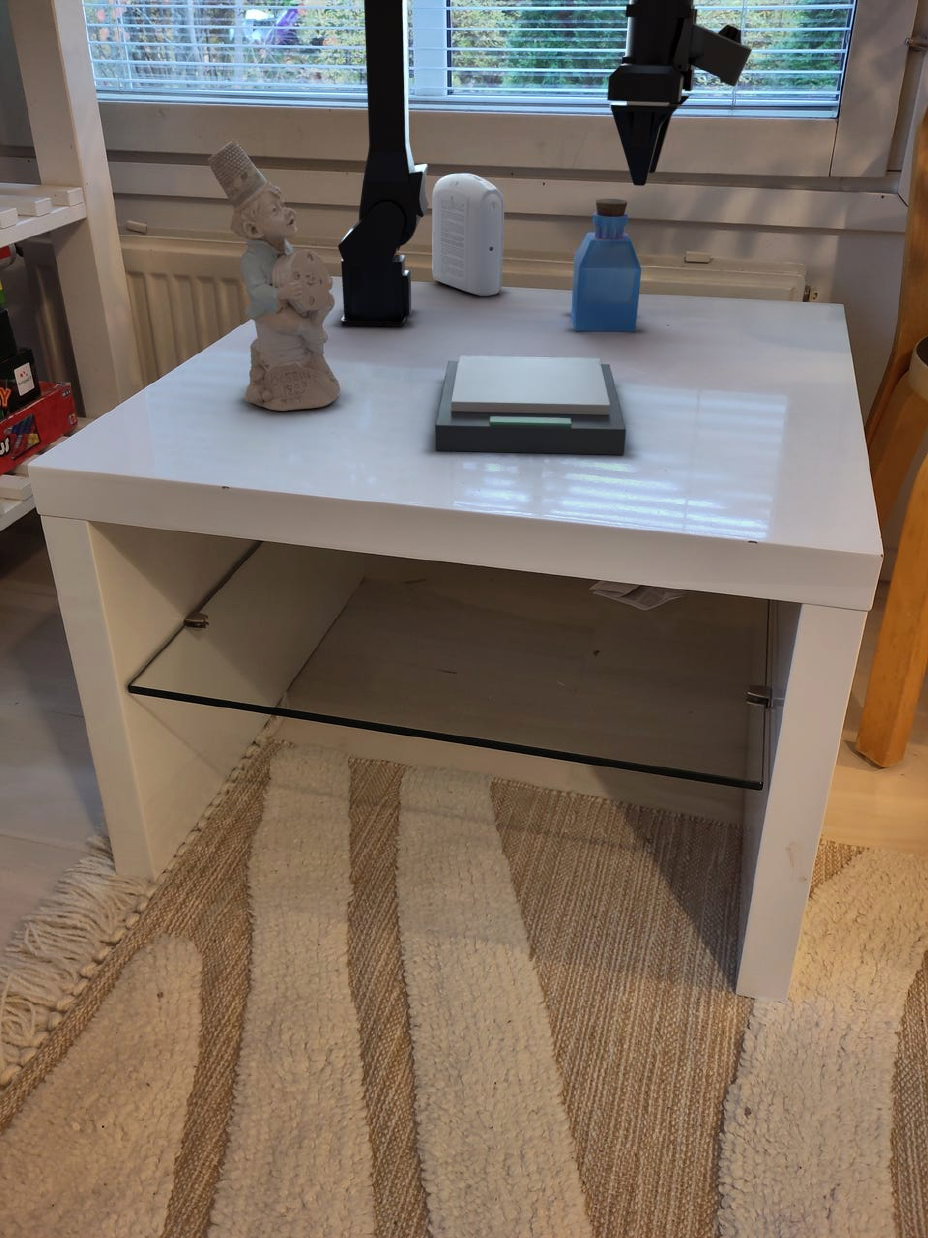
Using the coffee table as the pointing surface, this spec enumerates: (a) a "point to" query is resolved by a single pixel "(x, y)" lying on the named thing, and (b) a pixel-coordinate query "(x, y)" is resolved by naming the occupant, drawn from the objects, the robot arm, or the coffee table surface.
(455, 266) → the photo printer
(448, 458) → the coffee table surface
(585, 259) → the perfume bottle
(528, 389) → the scale
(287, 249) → the figurine
